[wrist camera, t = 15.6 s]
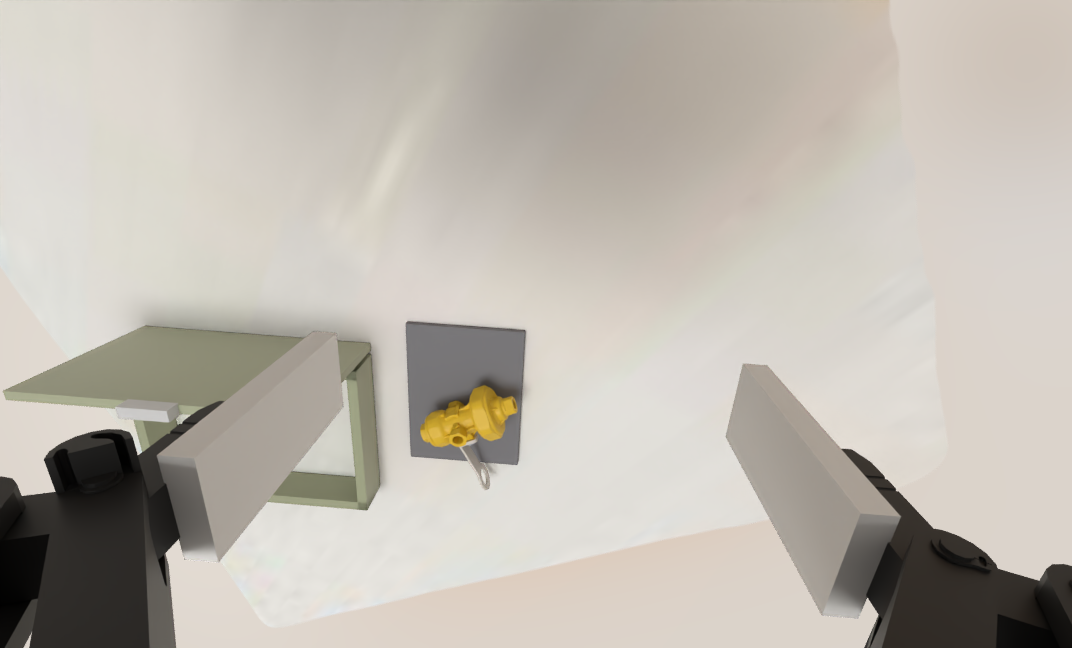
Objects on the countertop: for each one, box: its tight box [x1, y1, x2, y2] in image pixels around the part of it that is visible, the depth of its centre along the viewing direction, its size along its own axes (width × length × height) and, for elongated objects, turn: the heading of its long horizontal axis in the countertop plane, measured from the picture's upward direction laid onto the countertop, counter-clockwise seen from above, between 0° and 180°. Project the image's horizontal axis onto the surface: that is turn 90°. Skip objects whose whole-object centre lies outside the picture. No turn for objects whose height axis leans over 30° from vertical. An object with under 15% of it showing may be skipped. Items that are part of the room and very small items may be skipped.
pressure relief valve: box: [420, 385, 518, 490], centre depth 51 cm, size 6×12×10 cm
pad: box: [406, 322, 525, 465], centre depth 52 cm, size 16×12×1 cm
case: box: [3, 326, 380, 510], centre depth 48 cm, size 18×24×15 cm
